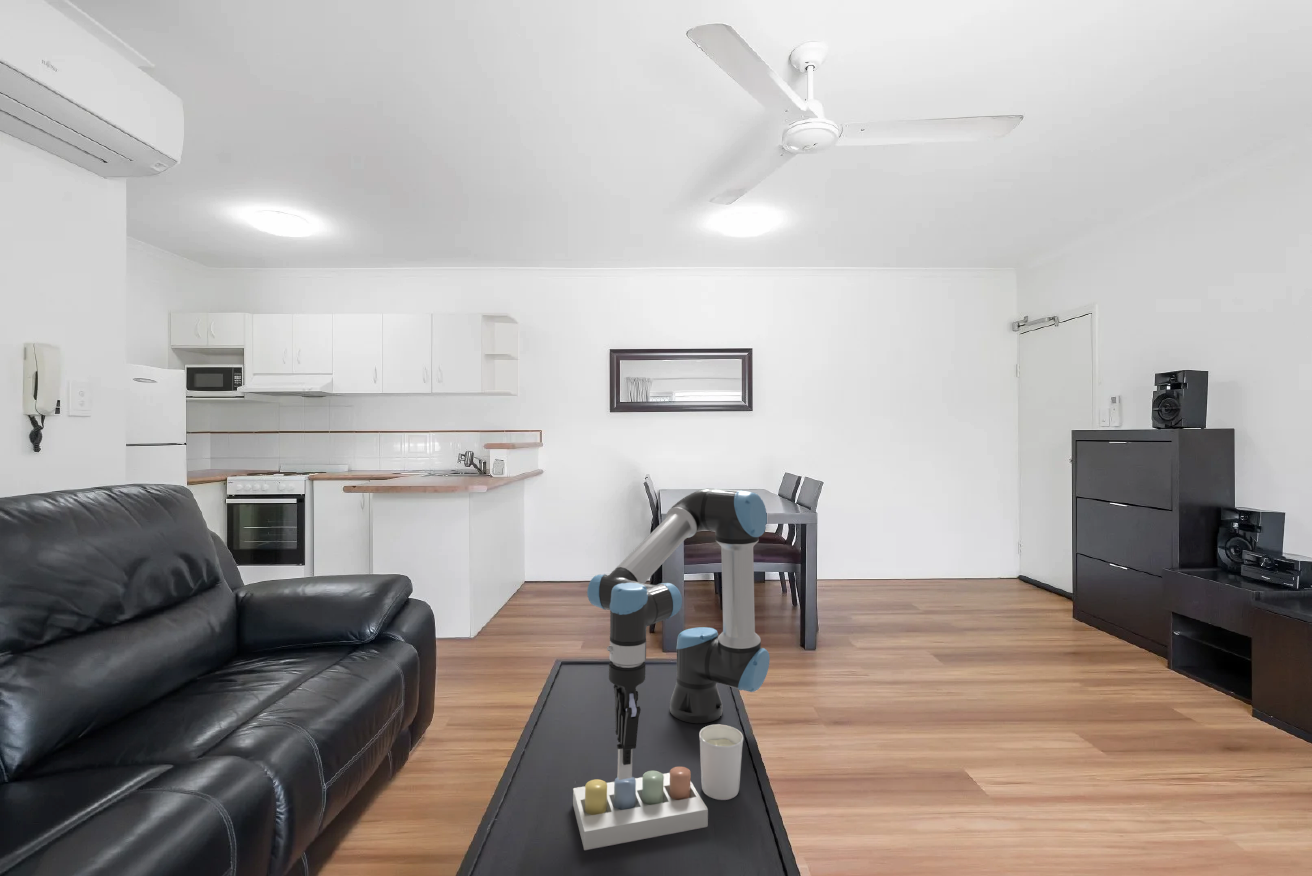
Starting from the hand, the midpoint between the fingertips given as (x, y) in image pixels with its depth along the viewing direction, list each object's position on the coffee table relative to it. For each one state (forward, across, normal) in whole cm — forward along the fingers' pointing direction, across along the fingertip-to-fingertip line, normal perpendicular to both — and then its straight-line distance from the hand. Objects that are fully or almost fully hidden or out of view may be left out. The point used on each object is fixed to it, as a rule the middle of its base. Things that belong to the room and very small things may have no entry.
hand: (624, 776), depth 117 cm
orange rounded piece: (+5, 0, +12) cm, 13 cm away
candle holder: (+9, -4, +23) cm, 25 cm away
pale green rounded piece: (+6, 0, +6) cm, 8 cm away
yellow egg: (+6, 0, -6) cm, 8 cm away
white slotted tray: (+9, 0, +3) cm, 9 cm away
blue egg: (+6, 0, 0) cm, 6 cm away
